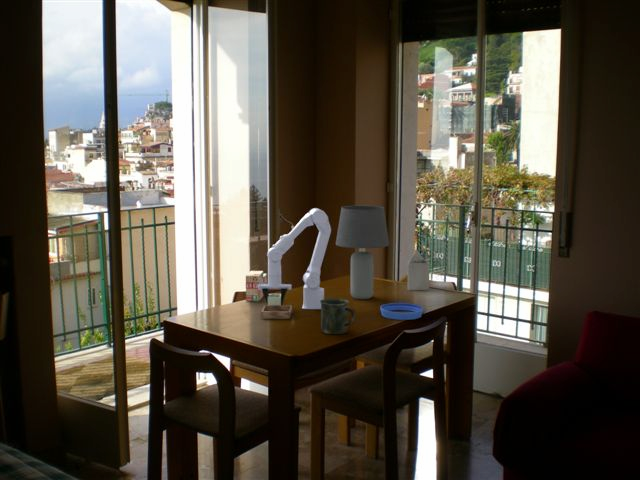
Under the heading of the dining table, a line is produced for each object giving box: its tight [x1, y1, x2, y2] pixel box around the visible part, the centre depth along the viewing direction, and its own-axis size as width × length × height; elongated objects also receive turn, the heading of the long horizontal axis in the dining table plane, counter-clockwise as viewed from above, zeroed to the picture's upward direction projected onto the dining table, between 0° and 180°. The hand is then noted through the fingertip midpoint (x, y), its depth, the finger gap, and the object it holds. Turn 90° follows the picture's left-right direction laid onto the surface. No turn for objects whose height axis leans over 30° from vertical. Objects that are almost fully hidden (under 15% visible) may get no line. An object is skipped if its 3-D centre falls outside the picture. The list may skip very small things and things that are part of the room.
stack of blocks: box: [245, 270, 268, 302], centre depth 328 cm, size 21×6×12 cm, turn 174°
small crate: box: [268, 293, 281, 305], centre depth 303 cm, size 6×8×6 cm
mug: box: [320, 297, 356, 335], centre depth 266 cm, size 11×15×12 cm
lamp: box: [335, 205, 390, 300], centre depth 324 cm, size 25×25×43 cm
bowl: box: [380, 302, 424, 321], centre depth 293 cm, size 18×18×4 cm
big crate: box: [260, 304, 293, 320], centre depth 292 cm, size 12×12×3 cm
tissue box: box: [407, 249, 431, 291], centre depth 346 cm, size 16×8×19 cm, turn 143°
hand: (274, 305), depth 303 cm, fingers closed on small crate, 5 cm apart
